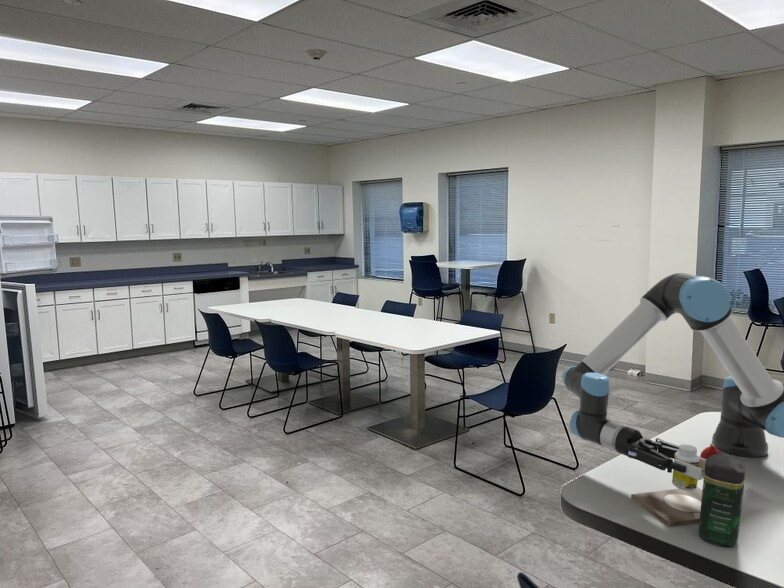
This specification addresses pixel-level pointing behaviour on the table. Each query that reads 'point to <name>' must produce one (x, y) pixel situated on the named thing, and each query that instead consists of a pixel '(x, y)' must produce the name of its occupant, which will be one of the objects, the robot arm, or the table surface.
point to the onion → (709, 451)
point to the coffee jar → (721, 499)
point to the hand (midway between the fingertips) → (707, 471)
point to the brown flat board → (672, 505)
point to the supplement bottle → (690, 457)
